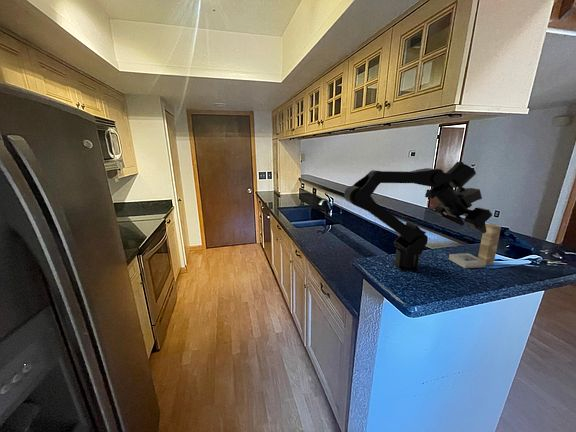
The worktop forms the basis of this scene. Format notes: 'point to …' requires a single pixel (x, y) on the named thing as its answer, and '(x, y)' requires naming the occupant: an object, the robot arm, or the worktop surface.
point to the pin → (489, 243)
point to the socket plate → (471, 263)
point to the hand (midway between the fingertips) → (473, 228)
